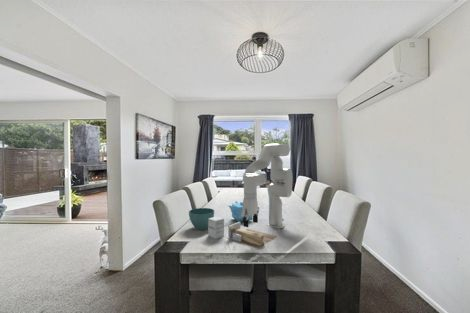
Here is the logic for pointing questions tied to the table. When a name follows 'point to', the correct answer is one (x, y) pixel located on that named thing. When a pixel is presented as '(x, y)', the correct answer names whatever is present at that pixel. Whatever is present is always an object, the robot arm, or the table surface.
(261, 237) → the rail
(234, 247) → the table surface
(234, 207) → the teakettle
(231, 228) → the bracket
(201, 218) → the teal bowl
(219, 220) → the supplement box
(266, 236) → the board
